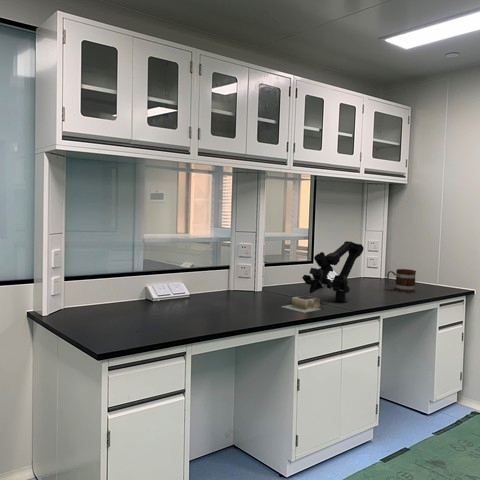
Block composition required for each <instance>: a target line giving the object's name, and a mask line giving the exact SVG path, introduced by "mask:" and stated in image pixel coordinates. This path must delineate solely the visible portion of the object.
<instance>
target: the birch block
mask: <svg viewBox="0 0 480 480" xmlns="http://www.w3.org/2000/svg"><path fill="white" fill-rule="evenodd" d="M320 304H321V298H320V297H315V296H311V295H301V296H294V297H292V298H291V305H292V307H296V308H300V309H304V310H307V309H313V308H320V306H321V305H320Z"/></svg>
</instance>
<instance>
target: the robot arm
mask: <svg viewBox="0 0 480 480" xmlns="http://www.w3.org/2000/svg"><path fill="white" fill-rule="evenodd" d="M346 253H348V255H347V257H346V260H345V262H344V264H343V266H342V268H341V271H340V272H339V274H338V275H337V274H335V275H334V278H333V279H332V281H331V279H330V278H329V277H328V276H329V274H330V272H334V269H333V268H334V267H333V266H337V265H338V264H339V262H340V260H341V258H342V257H343V256H344V255H346ZM362 253H364V246H363V244H362V243H355V242H353V241H348V240H346V241H344V242H343V244H342V245H340V246H339V247H338V248H337V249H336V250H335V251H334V252H333V251H332V252H330V253H328V254H326V255H325V252H324V251H320V252H319V253H317V254H316V255H314V257H313V259H314V261H315V263H316V264H317V266H318V267H319V268H316V267H311V268H310V270H309V272H308V273H309V274H311V275H309V274H303V276H302V277H301V279H302V280H303V282H304V283H305V284H306V285H310V286H309V287H310V288H309V291H308V292H309V293H310V294H312V293H314V292H316V291H319V290H320V289H323V288H324V285H326V288H327V289H329V290H332V291H333V292H335V298H334V299H333V300H332V301H333V302H336V303H343V304H344V303H348V302H349V301H348V300H347V293H350V289H351V288H350V287H349V285H348V283H349V281H348V278H349V275H350V273H351V271H352V268H353V266H354V264H355V262H356V260H357V258H359V257H360V256H361V255H362ZM331 265H332V266H331ZM311 276H312V277H311Z"/></svg>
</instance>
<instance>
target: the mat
mask: <svg viewBox="0 0 480 480" xmlns="http://www.w3.org/2000/svg"><path fill="white" fill-rule="evenodd" d="M281 308H282V309H287V310H291V311H295V312H297V313H298V312H299V313H303V314H306V313H311V312H315V311H321V310H322V308H320V307H318V308H313V309H307V310H304V309H300V308H296V307H292V304H287V305H282V306H281Z"/></svg>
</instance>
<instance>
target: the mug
mask: <svg viewBox="0 0 480 480" xmlns="http://www.w3.org/2000/svg"><path fill="white" fill-rule="evenodd" d="M395 272H396V273H395ZM395 272H394V271H393V270H389V271H388V272H387V274H386V277H387V279H386V282H387V284H386V285H387V287H388V288H390V289H391V288H395V289H394V291H395V292H397V291H398V293H402V292H406V293H405V294H413V293H412V292H414V291H415V288H416V274H417V270H414V269H406V268H405V269H404V268H397V269H396V271H395ZM390 274H393V275H394V276H396V277H395V285H390V284H389V283H390V276H389V275H390ZM415 292H416V291H415ZM415 292H414V293H415Z"/></svg>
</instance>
